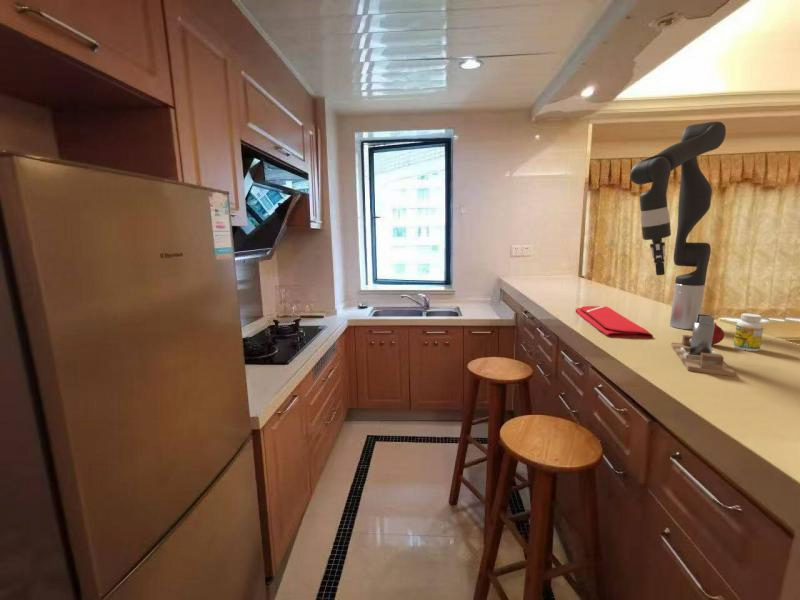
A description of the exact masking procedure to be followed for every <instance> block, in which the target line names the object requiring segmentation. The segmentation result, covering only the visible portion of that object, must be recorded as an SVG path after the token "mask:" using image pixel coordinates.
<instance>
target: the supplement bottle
mask: <svg viewBox="0 0 800 600" xmlns="http://www.w3.org/2000/svg"><path fill="white" fill-rule="evenodd" d="M761 321H762V315H760V314H754V313H748V312H747V313H745V312H744V313H741V315H740V320H738V321H737V322H736V326H735V333H734V340H733V347H734V348H735V349H737V350H741V351H745V350H746V351H745V352H758V351H760V349H761V344H762V339H763V331H764V324H763V323H761Z"/></svg>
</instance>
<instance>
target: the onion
mask: <svg viewBox="0 0 800 600" xmlns="http://www.w3.org/2000/svg"><path fill="white" fill-rule="evenodd" d="M713 324H715V328H714V334H713V339H712V345H711V346H713V345H716V344H719V343H721V341H722V340H724V338H725V332H724V330H723V328H721V327H720V326H719V325H718V324H717V322H715V321H714V323H713Z"/></svg>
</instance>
